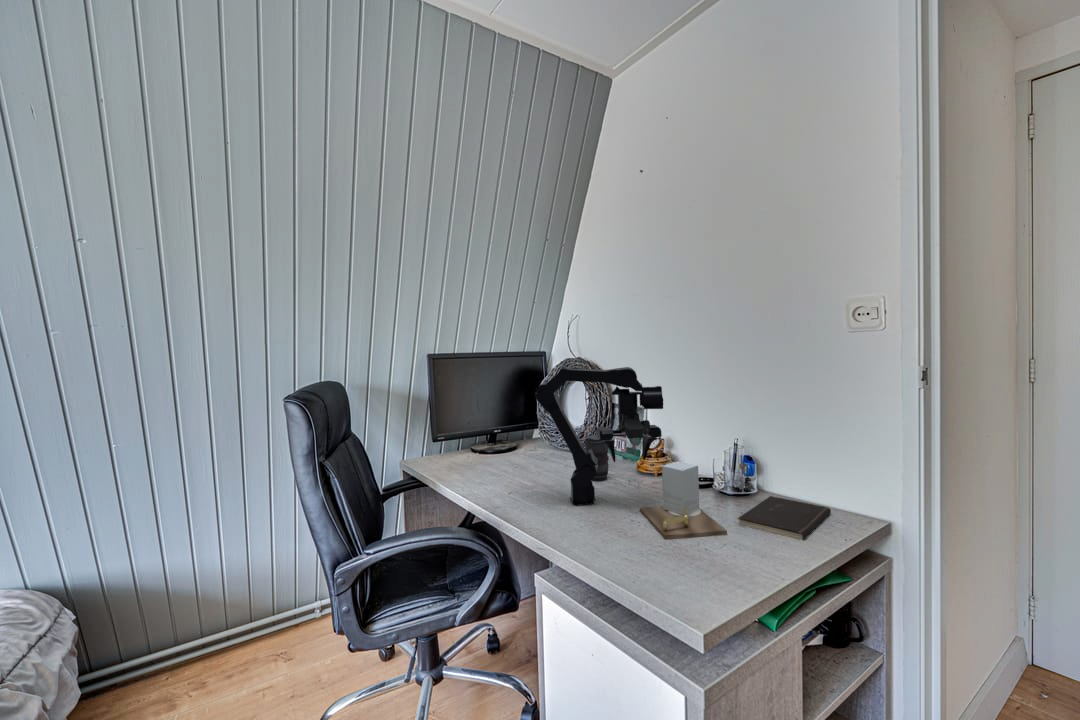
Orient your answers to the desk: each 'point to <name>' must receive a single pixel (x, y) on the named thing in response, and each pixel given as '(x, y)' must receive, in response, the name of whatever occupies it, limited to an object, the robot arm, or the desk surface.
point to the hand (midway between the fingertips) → (629, 460)
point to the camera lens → (598, 456)
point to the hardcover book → (785, 517)
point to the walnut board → (682, 523)
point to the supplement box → (680, 487)
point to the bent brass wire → (677, 520)
